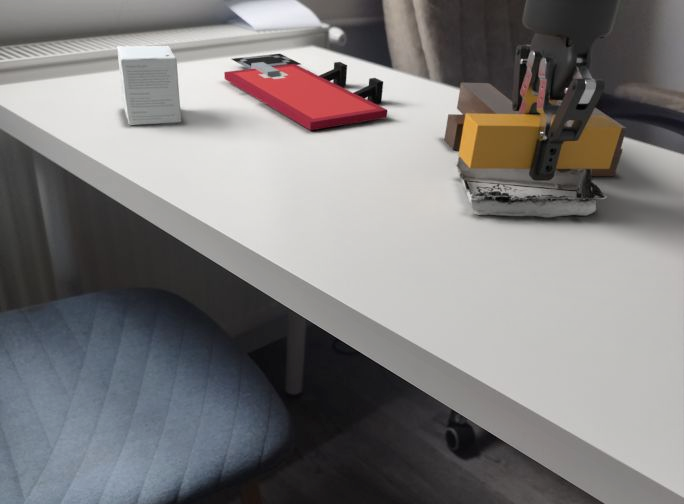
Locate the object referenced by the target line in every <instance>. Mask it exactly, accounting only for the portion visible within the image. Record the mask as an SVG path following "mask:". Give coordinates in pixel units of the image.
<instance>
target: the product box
mask: <svg viewBox="0 0 684 504" xmlns="http://www.w3.org/2000/svg"><path fill="white" fill-rule="evenodd" d="M116 47H117V49H116V50H117V59H118V60H117V61H118V68H119V77H120V86H121V87H120V88H121V95H122V103H123V110H124V113H125V116H126V118H127V122H128V126H138V125H152V124H153V125H154V124H173V123H181V122H182V113H181V102H180V85H179V73H178V60H177V56H175V54H174V53H173V50H172V49H171V47H170V46H169V45H117V46H116Z"/></svg>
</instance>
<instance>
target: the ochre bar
mask: <svg viewBox="0 0 684 504" xmlns="http://www.w3.org/2000/svg"><path fill="white" fill-rule="evenodd" d="M555 116H556V115H552V118H551V124H552V122H553V120H554V118H555ZM540 118H541V115H533V114H471V113H466V114H465V120H464V126H463V132H462V138H461V143H460V149H459V150H458V157H459V156H460V158H461V159H462V160H463V161H464V162H465V163H466V164H467V166H468V167H469V168H470V169H530V168H531V164H532V160H533V155H534V151H535V147H536V143H537V139H539V138H538V133H539V125H540ZM573 122H574V120H572V121H571V126H572V124H573ZM550 126H551V125H550ZM621 129H622V127H621V126H619V125H618V124H616V123H615V122H613V121H611V120H610V119H608V118H607V117H605V116H595V115H591V116H590V118H589V120H588V122H587V124H586V126H585V128H584V130H583V132H582V134H581V136H580V138H579V139H578V140H577V141H565V142H564V143H563V144H562V147H561V150H560V154H559V158H558V162H557V166H556V169H609V168H610V165H611V162H612V158H613V155H614V152H615V148H616V145H617V142H618V139H619V135H620V132H621Z"/></svg>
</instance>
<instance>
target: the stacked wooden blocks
mask: <svg viewBox="0 0 684 504" xmlns="http://www.w3.org/2000/svg"><path fill="white" fill-rule="evenodd" d="M561 103H562V100H558V101H557V102H555V103H553V104H561ZM456 105H457V106H456V110H458V112H460V113H461V114H459V113H458V114H457V113H455V114H453V113H452V114H450V113H449V114H448V115H447V119H446V126H445V133H444V141H445V142H446V143H447V144H448V146H449V147H450V149H452V151H459V149H460V143H461V138H462V132H463V126H464V120H465V114H466V113H471V114H518V113H519V112H518V111H513V109H512V100H511V99H509V98H508V97H507V96H506V95H505V94H503V93H502V92H501V91H499V90H498V89H497V88H496V87H495V86H493V85H492V84H491V83H488V82H460V87H459V92H458V99H457V104H456ZM553 115H556V114H553ZM591 115H595V116H605V117H607V118H608V119H610V120H611V121H613V122H615V123H616V124H618V125H619V126H621V127H622V129H621V132H620V135H619V139H618V142H617V145H616V148H615V152H614V155H613V158H612V162H611V165H610V168H609V169H592V176H593V177H615V176H616V173H617V170H618V166H619V163H620V159H621V157H622V153H623V148H622V145H623V143H624V139H625V136H626V133H627V130H628V128H627V127H626V126H625V125H622V124H621V123H619V122H618V121H617V120H615V119H613V118H612V117H611V116H609V115H607V114H605V113H604V112H602V110H600V109H598V108H596V107H595V108H594V110H593V112H592V114H591ZM557 170H559V172H567V171H570V169H557ZM579 170H580V169H579Z"/></svg>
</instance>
